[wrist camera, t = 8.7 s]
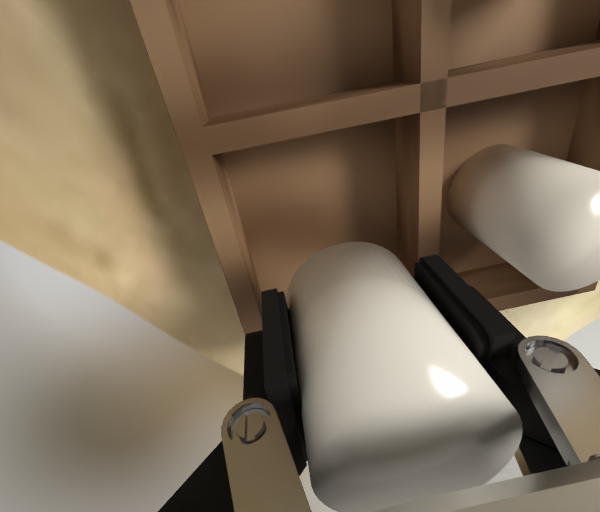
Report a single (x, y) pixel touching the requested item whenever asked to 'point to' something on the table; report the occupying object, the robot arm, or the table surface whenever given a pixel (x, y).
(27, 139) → the table surface
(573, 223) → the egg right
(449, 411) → the egg
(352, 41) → the rack
